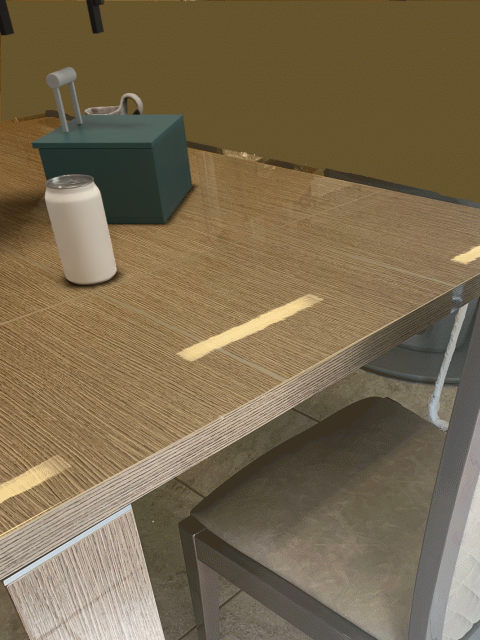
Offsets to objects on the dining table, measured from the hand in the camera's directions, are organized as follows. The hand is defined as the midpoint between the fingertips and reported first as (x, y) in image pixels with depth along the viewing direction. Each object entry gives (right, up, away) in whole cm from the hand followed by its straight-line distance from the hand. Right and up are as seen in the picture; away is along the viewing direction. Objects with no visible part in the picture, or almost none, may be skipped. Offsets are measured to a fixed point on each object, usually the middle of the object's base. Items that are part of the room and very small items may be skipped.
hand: (52, 33), depth 94 cm
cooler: (+7, -20, +14) cm, 25 cm away
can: (+9, -38, -10) cm, 40 cm away
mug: (-6, +6, +50) cm, 50 cm away
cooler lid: (+6, -11, +8) cm, 15 cm away
